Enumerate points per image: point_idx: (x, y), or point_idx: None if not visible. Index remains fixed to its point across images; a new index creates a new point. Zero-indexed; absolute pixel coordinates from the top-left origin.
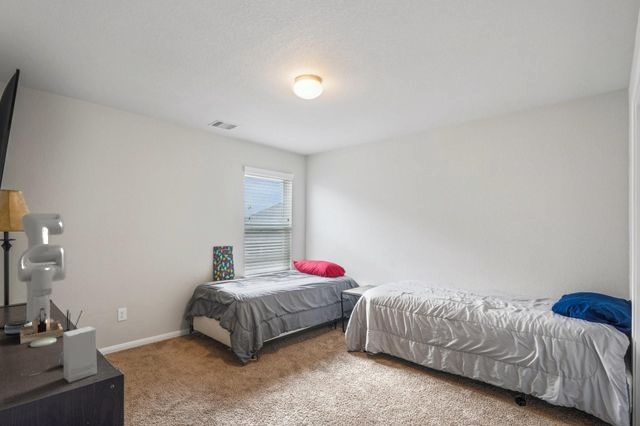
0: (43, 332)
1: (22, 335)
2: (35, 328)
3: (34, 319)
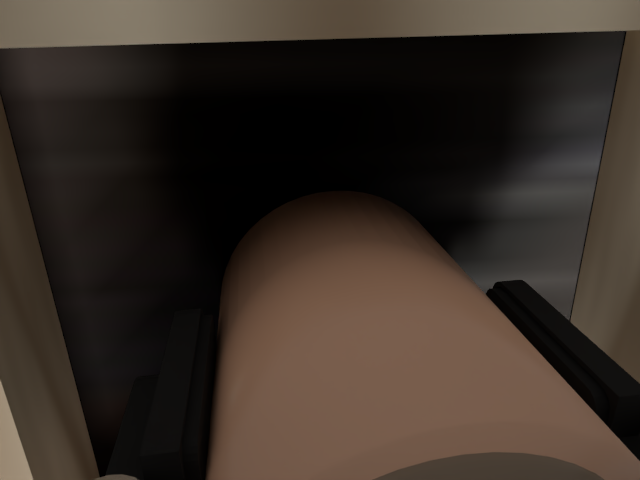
0: (12, 420)
1: (2, 20)
2: (262, 316)
3: (588, 443)
